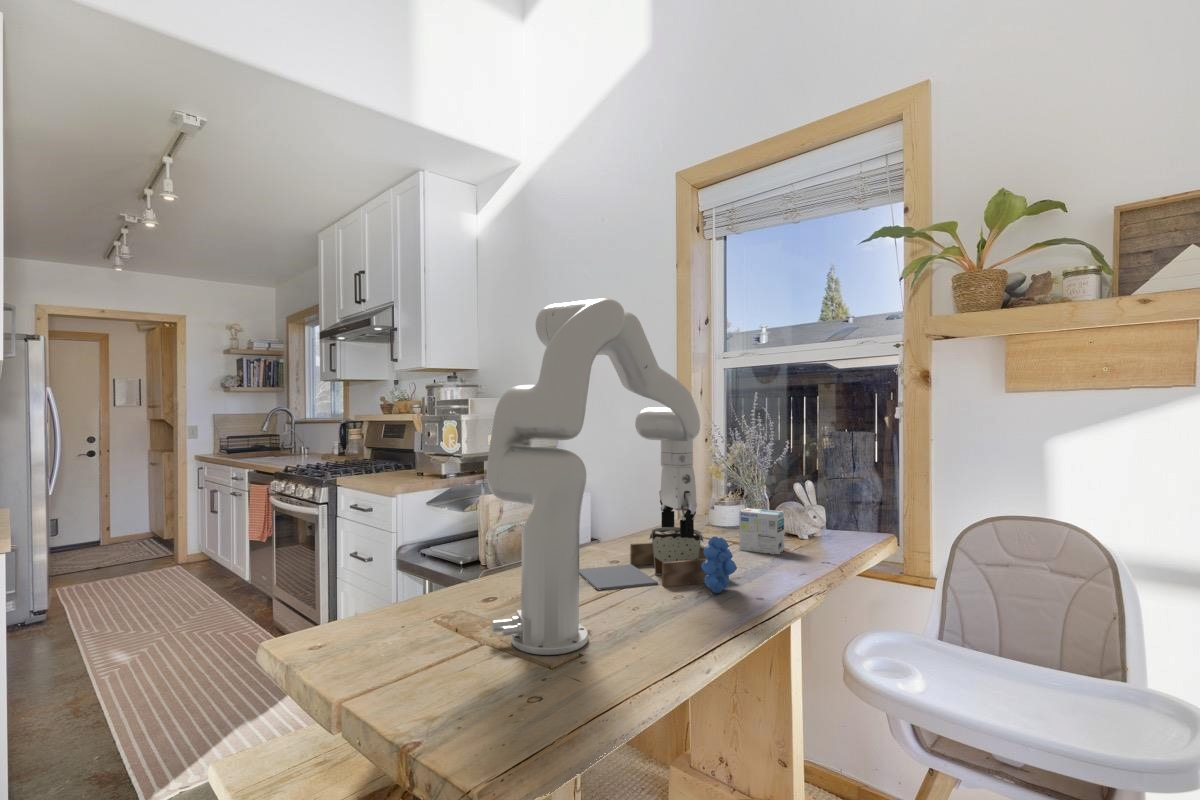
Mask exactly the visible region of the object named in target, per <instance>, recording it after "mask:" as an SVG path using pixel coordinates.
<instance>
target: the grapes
mask: <svg viewBox="0 0 1200 800" xmlns="http://www.w3.org/2000/svg"><path fill="white" fill-rule="evenodd" d="M707 544H708V545H707V546H704V547H705V548H704V550H703V553H704V556H705V557H706V558H707V559H708V560H706V561H704V562H703V563H702V565H701V567H702V570H703V571H704V573H705V574H707V575H706V576H705V578H704V581H705V583H704V584H705V586H707V587H708V588H709V589H711V591H712V592H713V593H714V594H720V593H721V592H723V590H724V589H726V588H727V587H728V586H729V585H730V584H731V582H730V579H729V580H728V578H727V576H729V577H730V575H732V574H734V573H735V572H736V571H737V569H738V566H737V564H736V562H735V561H734V560H732V558H733V557H734V556H733V554H732V552H731V550H730V549H729V547H730V545H729V543H728V542H727V540H726V539H725V538H723V537H718V536H712V537H711V538H709V540H708V542H707Z"/></svg>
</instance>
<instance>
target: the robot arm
mask: <svg viewBox="0 0 1200 800" xmlns="http://www.w3.org/2000/svg"><path fill="white" fill-rule="evenodd" d="M535 332H536V335H537V337H538V339H539V341H540V342H541V343H542V344H543V346H544V347H545V350H544V352H543V356H542V361H541V367H540V371H539V372H540V373H539V377H538V381H537V383H536V384H522V385H516V386H513V387H510V388H508V389H507V390H506V391H505V392H504V393H503V394H502V395H501V397H500V399H499V400H498V403H497V404H496V408H495V410H494V411H495V412H494V416H493V422H492V423H493V424H492V430H491V434H490V442H489V449H488V455H487V462H486V483H487V486H488V489H489V491H490V493H492V495H493V496H494V497H495V498H498V499H499V500H502V501H506V502H511V503H519V504H520V503H521V504H527V505H533V508H532V510H531V512H530V514H529V515H528V517H527V519H526V521H525V523H524V525H523V528H522V532H521V533H522V534H521V587H520V588H521V589H520V590H521V591H520V595H521V596H520V597H521V599H520V602H521V603H520V609H516V615H513V616H510V618H506V619H504V618H499V619H492V620H491V631H492V633H499V632H501V635H502V636H503V637H505V636H511V637H510V638H511V639H510V640H511V643H512V645H513V647H515V648H516V649H518V650H520V651H521V652H525V653H529V654H532V655H540V656H541V655H542V656H543V655H544V656H553V655H554V656H555V655H563V654H567V653H571V652H574V651H577V650H579V649H582V647H584V646H585V645H586V644H587V643H588V640H589V632H588V630H587V628H586V627H584V626H583V625H582V624H581V623H580V575H579V569H580V540H581V539H580V531H581V529H580V528H581V527H580V526H581V525H580V524H581V516H582V515H581V514H582V513H581V512H582V506H583V499H584V496H585V495H584V494H585V489H586V485H587V484H586V483H587V470H586V466H585V463H584V461H583V460H582V458H581V457H580V456H579V455H577V453H575V452H573V451H572V450H567V449H564V448H556V447H541V446H540V447H539V446H532V443H533V440H535V441H537V440H539V441H568V440H569V441H570V440H573V439H575V438H577V437H578V436H579V434H581V431H582V428H583V427H584V422H585V417H586V410H587V403H588V401H587V400H588V394H589V384H590V378H591V371H592V366H593V363H594V361H595V358H596V357H597V356H602V355H603V356H604V355H605V356H608V358H609V360H610V361H611V363H612V365H613V368H614V370H615V372H616V373H617V376H618V379H619V380H620V382H621V385H622V386H623V387H624V388H625V389H626V390H627V391H629V392H631V393H633V394H636V395H639V396H641V397H643V398H647V399H650V400H652V401H655V402H657V403H660V404H662V405H663V406H649V407H645V408H643V409H642V410H640V411H639V412H638V414H637V415H636V418H635V424H634V425H635V429H636V432H637V434H638V435H639V436H640V437H641V438H643V439H645V440H649V441H660V466H661V467H662V468H661V474H660V475H661V476H660V490H659V492H658V494H659V503H660V505H661V506H660V511H661V528H662V527H675V510H676V511H678V512H679V515H680V518H681V519H679V527H680V537H681V538H686V537H693V536H694V529H695V528H694V526H695V525H694V522H695V521H694V520H695V519H696V517H695V516H696V513H697V507H698V503H697V486H696V476H695V471H694V440H695V439H696V438H697V436H698V435H699V433H700V430H701V417H700V414H699V411H698V407H697V405H696V402H695V400H694V398H693V395H692V394H691V392H690V390H689V389H688V388H687V387H686V386H685V385H684V384H683V383H682V382H680V381H679V380H678V379H677V378H675V376H673V375H672V374H670V373H669V372H667V371H666V370H664V369H662V368H661V367H660V366H659V364H658V361H657V359H656V357H655V355H654V352H653V349H652V348H651V345H650V342H649V340H648V338H647V335H646V333H645V331H644V328H643V326H642V323H641V321H640V320H639V318H638V317H637V315H635V314H633V313H631V312H628V311H625V310H624V307H623V306H622V304H621V303H620V302H618V301H617V300H614V299H611V298H606V297H605V298H593V299H584V300H576V301H571V302H569V301H568V302H561V303H560V302H559V303H553V304H549V305H545V306H544V307H543V308H542V309H541V310H540V311H539V312H538V314H537V317H536V320H535Z"/></svg>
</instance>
